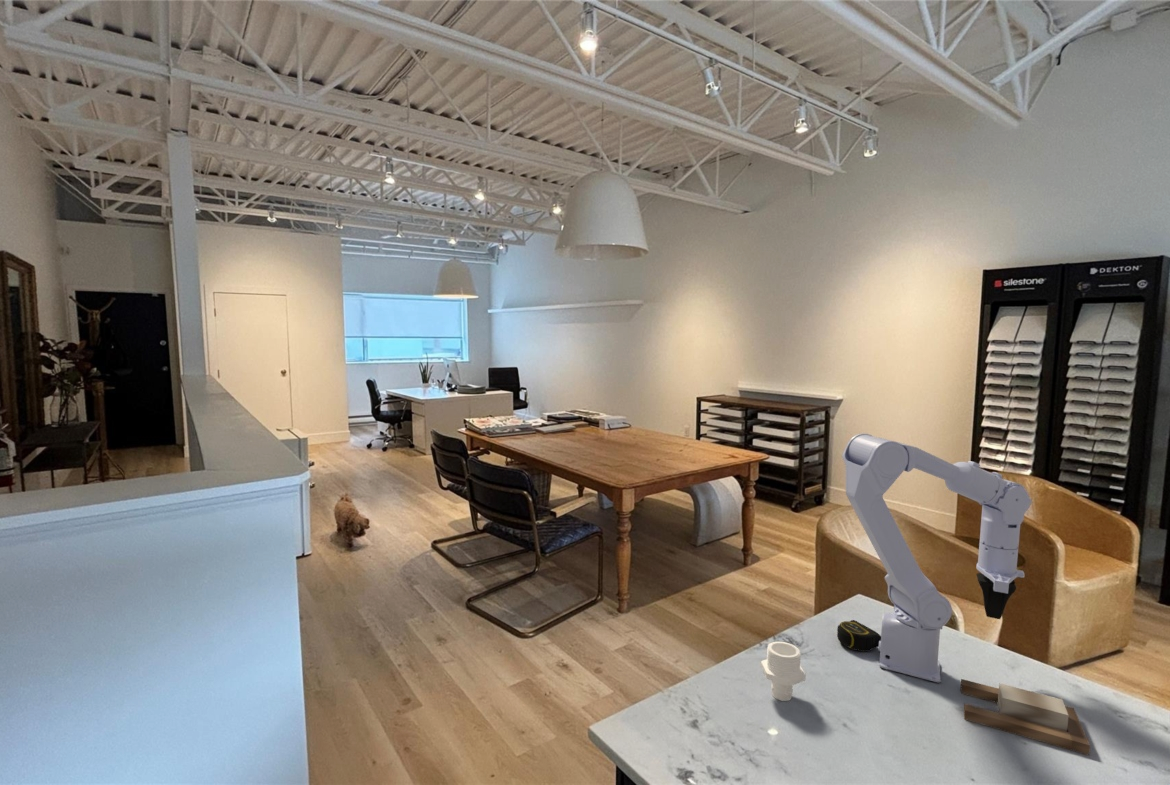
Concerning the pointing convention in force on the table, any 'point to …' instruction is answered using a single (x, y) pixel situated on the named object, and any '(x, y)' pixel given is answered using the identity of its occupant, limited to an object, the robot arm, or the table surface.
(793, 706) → the table surface
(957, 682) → the table surface
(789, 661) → the pipe fitting
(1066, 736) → the brown frame section
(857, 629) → the tape measure
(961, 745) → the table surface
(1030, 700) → the beige rectangular block
